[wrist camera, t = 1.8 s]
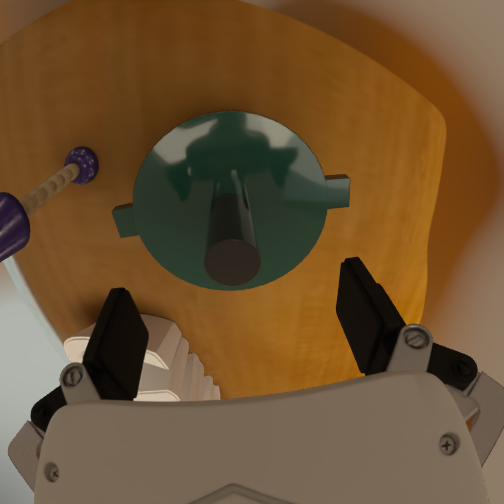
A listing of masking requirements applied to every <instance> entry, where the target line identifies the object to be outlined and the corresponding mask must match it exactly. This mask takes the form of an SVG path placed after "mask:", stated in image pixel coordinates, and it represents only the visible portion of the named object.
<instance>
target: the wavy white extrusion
mask: <svg viewBox="0 0 504 504" xmlns="http://www.w3.org/2000/svg"><path fill="white" fill-rule="evenodd" d="M140 316H141V318H142V320H143V322H144V324H145V326H146V328H147V330H148V332H149V340H148V345H147V349H146V354H145V358H144V363H143V368H142V373H141V378H140V383H139V389H138V394H137V397H136V398H134V401H205V400H220V391H219V386H216V385H213V378H212V377H211V376H210V375H208V376H204V366H203V364H202V363H201V362H199V357H198V356H197V354H196V353H191V354H188V349H189V343H188V341H187V340H186V339H185V338H183V337H181V335H182V334H181V332H180V330H179V328H178V326H177V325H176V324H175V323H174V322H173V321H170V320H167V319H164V318H160V317H156V316H151V315H145V314H140ZM95 324H96V323H94V324H92V325H91V326H89V327H87V328H85V329H84V330H82V331H80V332H79V333H77V334H75V335H73V336H72V337H70V338H68V339H67V340H66V341H65V343H64V350H65V352H66V354H67V356H68V358H69V359H70V360H71V362H72V363H74V362H79V363H81V364H82V361H83V359H82V358H83V355H84V352H85V349H86V347H87V344H88V342H89V339H90V337H91V334H92V332H93V329H94V327H95Z"/></svg>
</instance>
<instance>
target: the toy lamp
mask: <svg viewBox="0 0 504 504" xmlns="http://www.w3.org/2000/svg"><path fill="white" fill-rule="evenodd" d="M97 171H98V161H97V158H96V156H95V154H94V153H93V152H92V151H91V150H90V149H88V148H86V147H78V148H75V149H73V150H72V151H71V152H70V153H69V154H68V156H67V157H66V160H65V164H64V169H61V170H59V171H58V172H57V173H56V174H54V175H52V176H51V177H49V179H48V180H47V181H44V182H43V183H41V184H40V185H39V187H37V188H35V189H33V190H32V191H31V192H30V193H29V195H26V196H24V197H23V198H21V200H20V201H19V200H17V199H16V197H14V196H13V195H11V194H9V193H5V192H1V193H0V262H1V261H3V260H5V259H6V258H8V257H10V256H11V255H13V254H14V253H16V252H18V251H19V250H21V249H22V248H23V247H25V245H26V244H27V243H28V241H29V238H30V223H29V219H28V217H30V216H32V215H33V214H34V213H35V211H36V210H37V209H38V208H40V207H42V206H43V205H44V204H45V202H46V201H48V200H50V199H51V198H52V197H53V196H54V195H55V194H56V193H58V192H59V191H61V190H62V188H63V187H64V186H66V185H68V184H69V183H70V181H71V182H73V183H75V184H86V183H88V182H90V181H91V180H93V179H94V177H95V176H96V174H97Z"/></svg>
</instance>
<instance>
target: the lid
mask: <svg viewBox="0 0 504 504" xmlns="http://www.w3.org/2000/svg"><path fill="white" fill-rule="evenodd" d="M327 207H328V193H327V185H326V180H325V176H324V174H323V171H322V168H321V166H320V164H319V162H318V160H317V158H316V156H315V155H314V153H313V152H312V150H311V149H310V148H309V146H308V145H307V144H306V143H305V142H304V141H303V140H302V139H301V138H300V137H299V136H298V135H297V134H296V133H294V132H293V131H292V130H290V129H289V128H288V127H286V126H284V125H283V124H281V123H279V122H277V121H275V120H273V119H271V118H268V117H265V116H262V115H260V114H255V113H250V112H245V111H218V112H212V113H208V114H203V115H200V116H197V117H195V118H192V119H190V120H187V121H185V122H184V123H182V124H180V125H178V126H176V127H175V128H173V129H172V130H171V131H170V132H168V133H167V134H166V135H164V136H163V137H162V138H161V139H160V140H159V141H158V142H157V143H156V144H155V145H154V146H153V148H152V149H151V150H150V152H149V153H148V155H147V156H146V158H145V159H144V161H143V163H142V165H141V167H140V169H139V172H138V175H137V178H136V181H135V186H134V191H133V212H134V219H135V223H136V227H137V230H138V232H139V235H140V237H141V239H142V241H143V243H144V245H145V246H146V248H147V249H148V251H149V252H150V254H151V255H152V256H153V257H154V258H155V259H156V261H157V262H158V263H159V264H160V265H161V266H163V267H164V268H165V269H166V270H168V271H169V272H170V273H172V274H173V275H175V276H177V277H178V278H180V279H182V280H184V281H186V282H188V283H191V284H194V285H197V286H200V287H204V288H208V289H214V290H227V291H233V290H244V289H250V288H254V287H258V286H261V285H265V284H267V283H269V282H272V281H274V280H276V279H278V278H280V277H282V276H284V275H285V274H287V273H288V272H289V271H291V270H292V269H294V268H295V267H296V266H297V265H298V264H299V263H300V262H302V260H303V259H304V258H305V257H306V256H307V255H308V254H309V252H310V251H311V250H312V248H313V247H314V245H315V244H316V242H317V240H318V238H319V236H320V234H321V232H322V229H323V226H324V224H325V219H326V215H327Z"/></svg>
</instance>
